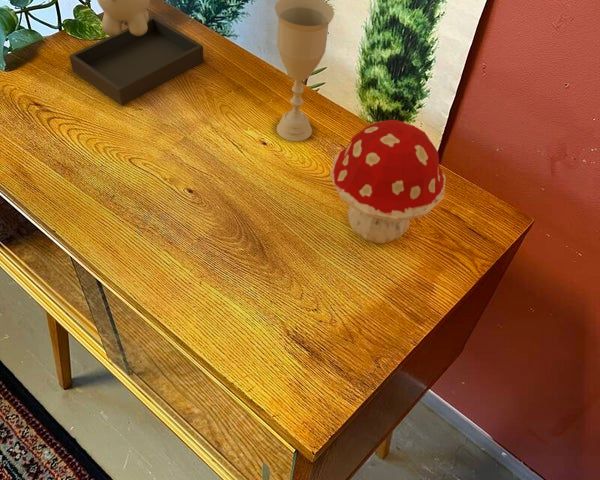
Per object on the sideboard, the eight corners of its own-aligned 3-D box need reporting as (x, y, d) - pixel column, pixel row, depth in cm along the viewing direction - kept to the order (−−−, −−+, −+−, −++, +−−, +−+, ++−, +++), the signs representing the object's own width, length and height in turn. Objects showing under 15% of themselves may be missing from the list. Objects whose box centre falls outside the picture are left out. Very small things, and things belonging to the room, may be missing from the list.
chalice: (262, 137, 94) (267, 17, 79) (277, 109, 98) (284, -10, 83) (312, 150, 93) (325, 31, 78) (325, 121, 97) (340, 3, 82)
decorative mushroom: (317, 187, 88) (330, 91, 76) (419, 187, 90) (447, 93, 78) (327, 267, 80) (344, 174, 68) (440, 267, 82) (475, 175, 70)
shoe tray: (121, 105, 95) (119, 89, 93) (72, 71, 99) (68, 55, 97) (203, 61, 103) (203, 45, 101) (155, 31, 107) (153, 15, 105)
